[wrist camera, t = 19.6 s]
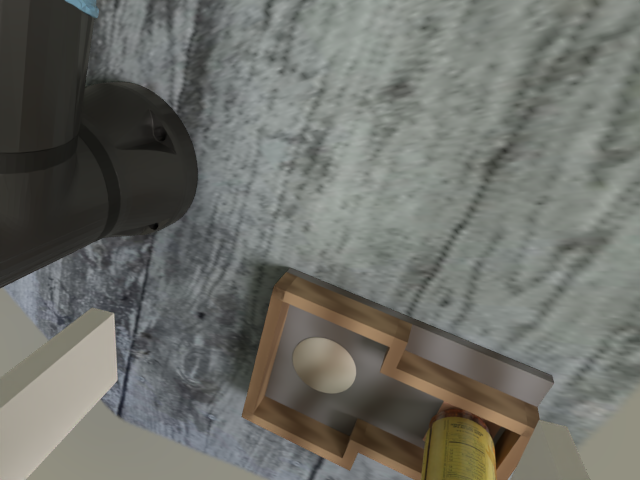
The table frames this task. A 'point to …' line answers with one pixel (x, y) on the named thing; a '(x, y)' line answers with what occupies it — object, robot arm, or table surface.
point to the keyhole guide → (379, 380)
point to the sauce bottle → (458, 448)
